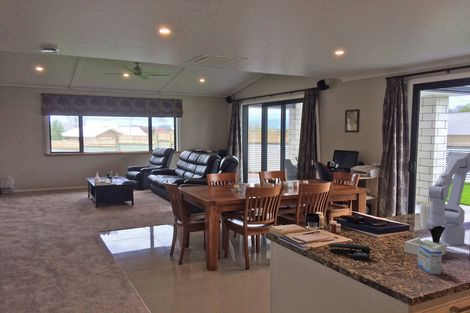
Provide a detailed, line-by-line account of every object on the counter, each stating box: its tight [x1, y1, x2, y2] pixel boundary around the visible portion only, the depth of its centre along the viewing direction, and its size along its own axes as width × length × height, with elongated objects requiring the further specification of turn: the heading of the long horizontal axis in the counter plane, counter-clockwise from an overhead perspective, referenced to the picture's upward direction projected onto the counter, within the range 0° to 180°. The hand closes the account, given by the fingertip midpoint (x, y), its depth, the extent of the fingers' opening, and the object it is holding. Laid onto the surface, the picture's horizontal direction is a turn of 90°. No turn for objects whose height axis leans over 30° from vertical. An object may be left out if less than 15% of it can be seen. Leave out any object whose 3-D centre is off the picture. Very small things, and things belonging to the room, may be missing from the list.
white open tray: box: [404, 237, 447, 257], centre depth 158 cm, size 12×12×4 cm
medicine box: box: [417, 244, 443, 275], centre depth 138 cm, size 8×4×9 cm, turn 5°
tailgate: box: [420, 239, 448, 248], centre depth 163 cm, size 2×9×5 cm
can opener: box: [328, 242, 371, 261], centre depth 154 cm, size 18×7×6 cm, turn 54°
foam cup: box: [418, 202, 431, 231], centre depth 200 cm, size 10×9×13 cm
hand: (435, 242), depth 164 cm, fingers closed
